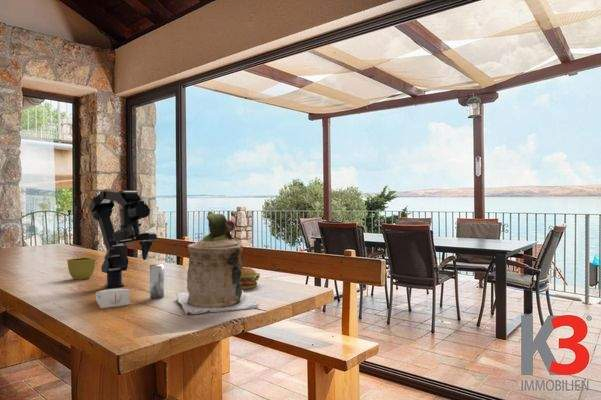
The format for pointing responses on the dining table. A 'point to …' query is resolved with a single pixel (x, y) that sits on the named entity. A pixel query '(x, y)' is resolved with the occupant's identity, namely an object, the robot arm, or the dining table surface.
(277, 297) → the dining table surface
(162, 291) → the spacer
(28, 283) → the dining table surface
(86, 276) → the flower pot
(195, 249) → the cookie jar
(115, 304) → the scale
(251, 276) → the food
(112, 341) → the dining table surface
